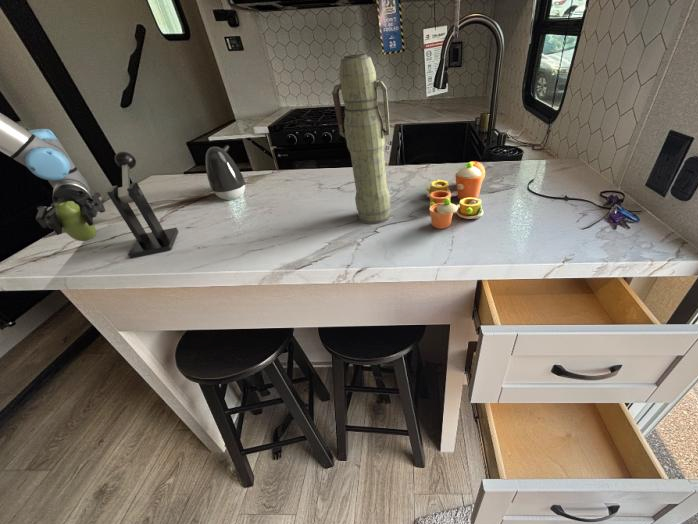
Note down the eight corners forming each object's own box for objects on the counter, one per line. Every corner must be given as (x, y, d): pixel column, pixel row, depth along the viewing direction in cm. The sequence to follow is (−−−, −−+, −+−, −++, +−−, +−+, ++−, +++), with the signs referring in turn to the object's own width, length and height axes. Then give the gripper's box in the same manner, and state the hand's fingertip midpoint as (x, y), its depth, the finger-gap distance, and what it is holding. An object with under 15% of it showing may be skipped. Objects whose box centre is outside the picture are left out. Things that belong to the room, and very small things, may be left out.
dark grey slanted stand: (141, 238, 89) (107, 183, 80) (178, 231, 91) (149, 176, 82) (130, 258, 81) (90, 199, 72) (171, 250, 83) (137, 191, 74)
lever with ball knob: (121, 162, 84) (110, 149, 80) (139, 159, 85) (129, 146, 81) (122, 206, 79) (110, 195, 75) (141, 203, 80) (130, 191, 76)
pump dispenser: (256, 192, 110) (239, 142, 101) (232, 204, 103) (211, 153, 94) (233, 189, 114) (215, 141, 104) (209, 201, 107) (186, 150, 97)
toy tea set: (426, 191, 101) (426, 157, 95) (479, 189, 100) (481, 155, 93) (424, 232, 81) (423, 193, 75) (489, 231, 79) (494, 191, 73)
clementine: (466, 192, 98) (468, 167, 94) (453, 185, 103) (454, 161, 99) (488, 186, 101) (491, 161, 96) (474, 179, 106) (476, 156, 101)
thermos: (355, 210, 94) (330, 56, 72) (397, 208, 93) (385, 51, 71) (350, 224, 87) (321, 59, 65) (395, 222, 86) (382, 54, 64)
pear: (72, 247, 82) (42, 208, 76) (77, 238, 86) (48, 200, 80) (99, 240, 84) (72, 202, 78) (102, 232, 88) (77, 195, 82)
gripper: (119, 200, 99) (126, 225, 84) (40, 221, 91) (33, 253, 76) (103, 174, 94) (108, 197, 80) (18, 194, 86) (6, 223, 71)
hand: (71, 224), depth 78 cm, fingers closed on pear, 5 cm apart
